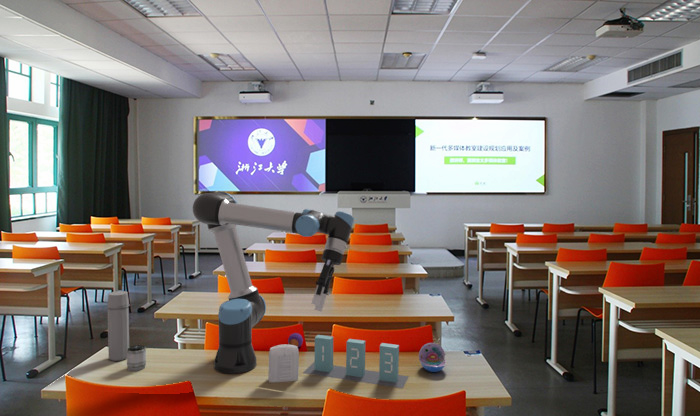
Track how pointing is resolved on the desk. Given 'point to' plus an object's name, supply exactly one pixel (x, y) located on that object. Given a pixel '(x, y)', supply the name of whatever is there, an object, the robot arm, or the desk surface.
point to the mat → (367, 378)
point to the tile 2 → (355, 358)
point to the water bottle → (118, 325)
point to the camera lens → (136, 357)
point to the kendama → (295, 339)
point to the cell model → (432, 357)
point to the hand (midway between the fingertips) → (316, 307)
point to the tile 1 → (323, 353)
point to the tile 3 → (389, 362)
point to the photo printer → (283, 363)
